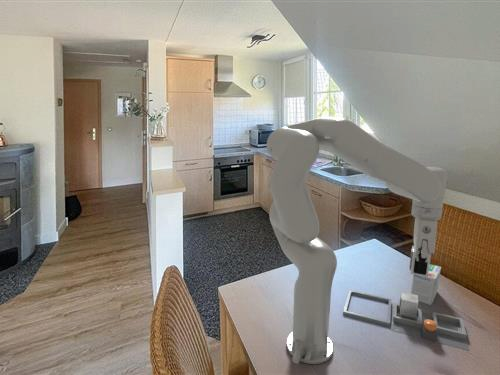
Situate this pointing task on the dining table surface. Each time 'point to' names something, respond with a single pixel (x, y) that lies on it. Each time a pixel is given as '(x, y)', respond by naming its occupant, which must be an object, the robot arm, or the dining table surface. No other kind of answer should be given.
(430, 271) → the light bulb box
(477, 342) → the dining table surface
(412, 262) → the block
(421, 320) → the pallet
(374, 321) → the tray
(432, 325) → the button
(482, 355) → the dining table surface
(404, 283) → the dining table surface
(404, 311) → the block
